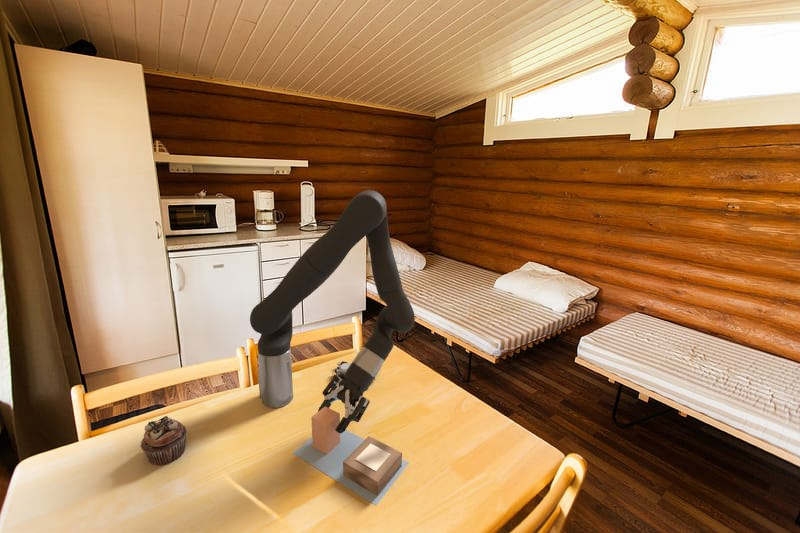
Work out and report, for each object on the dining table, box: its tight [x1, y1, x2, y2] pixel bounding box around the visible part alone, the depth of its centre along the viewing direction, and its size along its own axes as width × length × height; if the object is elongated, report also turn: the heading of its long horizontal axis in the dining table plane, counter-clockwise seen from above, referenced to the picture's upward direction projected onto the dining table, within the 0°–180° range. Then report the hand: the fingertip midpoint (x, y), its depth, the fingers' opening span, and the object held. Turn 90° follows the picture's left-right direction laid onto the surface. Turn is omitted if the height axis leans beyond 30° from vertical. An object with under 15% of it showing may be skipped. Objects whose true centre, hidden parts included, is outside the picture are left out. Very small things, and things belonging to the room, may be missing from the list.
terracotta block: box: [311, 406, 341, 455], centre depth 93 cm, size 5×5×9 cm
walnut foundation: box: [343, 435, 403, 496], centre depth 86 cm, size 10×10×4 cm
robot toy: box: [334, 361, 352, 380], centre depth 126 cm, size 12×4×15 cm
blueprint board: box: [292, 429, 410, 506], centre depth 90 cm, size 26×14×1 cm, turn 58°
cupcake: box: [140, 415, 188, 467], centre depth 89 cm, size 10×10×10 cm
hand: (328, 423), depth 93 cm, fingers open, 8 cm apart
